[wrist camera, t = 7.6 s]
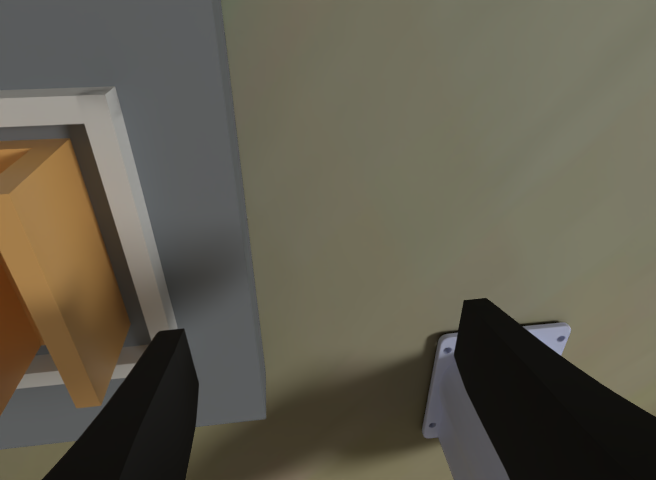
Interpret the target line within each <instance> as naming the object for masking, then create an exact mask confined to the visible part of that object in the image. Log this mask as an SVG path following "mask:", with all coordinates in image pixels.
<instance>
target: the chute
mask: <svg viewBox="0 0 656 480" xmlns="http://www.w3.org/2000/svg"><path fill="white" fill-rule="evenodd" d="M130 325H131V324H130V320H129V317H128V314H127V311H126V308H125V305H124V302H123V299H122V296H121V293H120V290H119V287H118V284H117V281H116V278H115V275H114V271H113V268H112V265H111V262H110V259H109V256H108V253H107V250H106V247H105V244H104V241H103V238H102V235H101V232H100V229H99V226H98V222H97V219H96V216H95V213H94V210H93V207H92V204H91V201H90V198H89V195H88V192H87V189H86V186H85V183H84V180H83V177H82V174H81V170H80V167H79V164H78V161H77V158H76V155H75V152H74V149H73V146H72V143H71V140H70V138H63V139H38V140H13V141H0V416H1V414H2V412H3V411H4V409H5V407H6V405H7V404H8V402H9V400H10V398H11V397H12V395H13V393H14V391H15V390H16V388H17V386H18V385H19V383H20V381H21V379H22V378H23V376H24V374H25V372H26V371H27V369H28V367H29V365H30V364H31V362H32V360H33V359H34V357H35V355H36V353H37V352H38V350H39V348H40V346H41V345H46V347H47V349H48V351H49V353H50V355H51V357H52V359H53V361H54V363H55V365H56V367H57V369H58V371H59V374H60V376H61V378H62V380H63V382H64V384H65V386H66V388H67V390H68V392H69V394H70V396H71V398H72V400H73V402H74V405H75V407H76V408H85V407H94V406H101V405H102V402H103V399H104V397H105V394H106V391H107V388H108V386H109V383H110V380H111V377H112V375H113V372H114V369H115V366H116V363H117V361H118V358H119V355H120V352H121V350H122V347H123V344H124V341H125V339H126V336H127V333H128V330H129V328H130Z"/></svg>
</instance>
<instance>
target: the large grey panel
mask: <svg viewBox="0 0 656 480" xmlns="http://www.w3.org/2000/svg"><path fill="white" fill-rule="evenodd" d="M63 138H70V140H71V143H72V146H73V149H74V152H75V155H76V158H77V161H78V164H79V167H80V170H81V174H82V177H83V180H84V183H85V186H86V189H87V192H88V195H89V198H90V201H91V204H92V207H93V210H94V213H95V216H96V219H97V222H98V226H99V229H100V232H101V235H102V238H103V241H104V244H105V247H106V250H107V253H108V256H109V259H110V262H111V265H112V268H113V271H114V275H115V278H116V281H117V284H118V287H119V290H120V293H121V296H122V299H123V302H124V305H125V308H126V311H127V314H128V317H129V320H130V324H131V325H130V328H129V330H128V333H127V336H126V339H125V341H124V344H123V347H122V350H121V352H120V355H119V358H118V361H117V363H116V366H115V369H114V372H113V375H112V377H111V380H110V383H109V386H108V388H107V391H106V394H105V397H104V399H103V402H102V405H101V406H94V407H85V408H76V407H75V405H74V402H73V400H72V398H71V396H70V394H69V392H68V390H67V388H66V386H65V384H64V382H63V380H62V378H61V376H60V374H59V371H58V369H57V367H56V365H55V363H54V361H53V359H52V357H51V355H50V353H49V351H48V349H47V347H46V345H41V346H40V348H39V350H38V352H37V353H36V355H35V357H34V359H33V360H32V362H31V364H30V365H29V367H28V369H27V371H26V372H25V374H24V376H23V378H22V379H21V381H20V383H19V385H18V386H17V388H16V390H15V391H14V393H13V395H12V397H11V398H10V400H9V402H8V404H7V405H6V407H5V409H4V411H3V412H2V414H1V416H0V449H8V448H17V447H26V446H35V445H43V444H52V443H61V442H69V441H77V440H78V439H79V437H80V436H81V435H82V434H83V432H84V431H85V430H86V429H87V427H88V426H89V425H90V424H91V423H92V421H93V420H94V419H95V418H96V416H97V415H98V414H99V413H100V412H101V410H102V409H103V408H104V406H105V405H106V404H107V402H108V401H109V400H110V398H111V397H112V396H113V394H114V393H115V392H116V390H117V389H118V388H119V386H120V385H121V384H122V382H123V381H124V380H125V378H126V377H127V375H128V374H129V373H130V371H131V370H132V368H133V367H134V366H135V364H136V363H137V361H138V360H139V358H140V357H141V355H142V354H143V352H144V351H145V350H146V348H147V347H148V345H149V344H150V342H151V341H152V339H153V338H154V336H155V335H156V334H157V333H158V332H159V331H163V330H173V329H183V328H184V329H185V333H186V337H187V340H188V344H189V348H190V351H191V355H192V359H193V363H194V366H195V370H196V374H197V378H198V381H199V394H198V407H197V419H196V427H200V426H209V425H217V424H226V423H235V422H243V421H252V420H261V419H266V372H265V364H264V355H263V347H262V339H261V330H260V322H259V314H258V305H257V297H256V289H255V281H254V272H253V264H252V256H251V247H250V239H249V231H248V223H247V214H246V206H245V198H244V189H243V181H242V173H241V165H240V156H239V148H238V140H237V131H236V123H235V115H234V106H233V98H232V90H231V82H230V73H229V65H228V57H227V48H226V40H225V32H224V24H223V15H222V7H221V0H0V141H13V140H38V139H63Z"/></svg>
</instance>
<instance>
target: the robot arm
mask: <svg viewBox="0 0 656 480" xmlns="http://www.w3.org/2000/svg"><path fill="white" fill-rule="evenodd" d="M570 332H571V328H570V326H569V325H568V324H567V323H564V322H561V323H551V324H541V325H531V326H521V325H520V324H519V323H517V322H516V321H515V320H514V319H512V318H511V317H510V316H509V315H507V314H506V313H505V312H504V311H502V310H501V309H500V308H499V307H497V306H496V305H495V304H493V303H492V302H491V301H489V300H488V299H487V298H482V299H472V300H464V302H463V308H462V313H461V318H460V324H459V329H458V333H450V334H444V335H442V336H441V337H440V338H439V340H438V345H437V350H436V356H435V361H434V367H433V372H432V378H431V383H430V389H429V394H428V400H427V405H426V411H425V416H424V422H423V427H422V433H423V436H424V437H425V438H437V437H438V438H439V441H440V444H441V446H442V449H443V452H444V455H445V457H446V460H447V463H448V465H449V468H450V471H451V473H452V476H453V479H454V480H656V417H655V416H653V415H651V414H650V413H648V412H646V411H645V410H643V409H641V408H640V407H638V406H636V405H635V404H633V403H631V402H630V401H628V400H626V399H625V398H623V397H621V396H620V395H618V394H616V393H615V392H613V391H612V390H610V389H609V388H607V387H605V386H604V385H602V384H601V383H599V382H598V381H596V380H595V379H593V378H592V377H590V376H589V375H588V374H586V373H585V372H583V371H582V370H580V369H579V368H577V367H576V366H574V365H573V364H572V363H570V362H569V361H567V360H566V359H565V358H563V357H562V356H561V355H562V352H563V350H564V347H565V345H566V342H567V340H568V337H569V335H570ZM445 348H446V349H445ZM198 394H199V381H198V378H197V374H196V370H195V366H194V363H193V359H192V355H191V351H190V348H189V344H188V340H187V337H186V333H185V329H184V328H183V329H173V330H163V331H159V332H158V333H157V334H156V335H155V336H154V338H153V339H152V341H151V342H150V344H149V345H148V347H147V348H146V350H145V351H144V352H143V354H142V355H141V357H140V358H139V360H138V361H137V363H136V364H135V366H134V367H133V368H132V370H131V371H130V373H129V374H128V375H127V377H126V378H125V380H124V381H123V382H122V384H121V385H120V386H119V388H118V389H117V390H116V392H115V393H114V394H113V396H112V397H111V398H110V400H109V401H108V402H107V404H106V405H105V406H104V408H103V409H102V410H101V412H100V413H99V414H98V415H97V416H96V418H95V419H94V420H93V421H92V423H91V424H90V425H89V426H88V427H87V429H86V430H85V431H84V432H83V434H82V435H81V436H80V437H79V439H78V440H77V441H76V442H75V443H74V445H73V446H72V447H71V448H70V449H69V450H68V451H67V453H66V454H65V455H64V456H63V457H62V458H61V459H60V460H59V462H58V463H57V464H56V465H55V466H54V467H53V468H52V469H51V470H50V471H49V473H48V474H47V475H46V476H45V477H44V478H43V479H42V480H185V478H186V473H187V468H188V463H189V458H190V453H191V448H192V442H193V437H194V432H195V427H196V419H197V407H198Z"/></svg>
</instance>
